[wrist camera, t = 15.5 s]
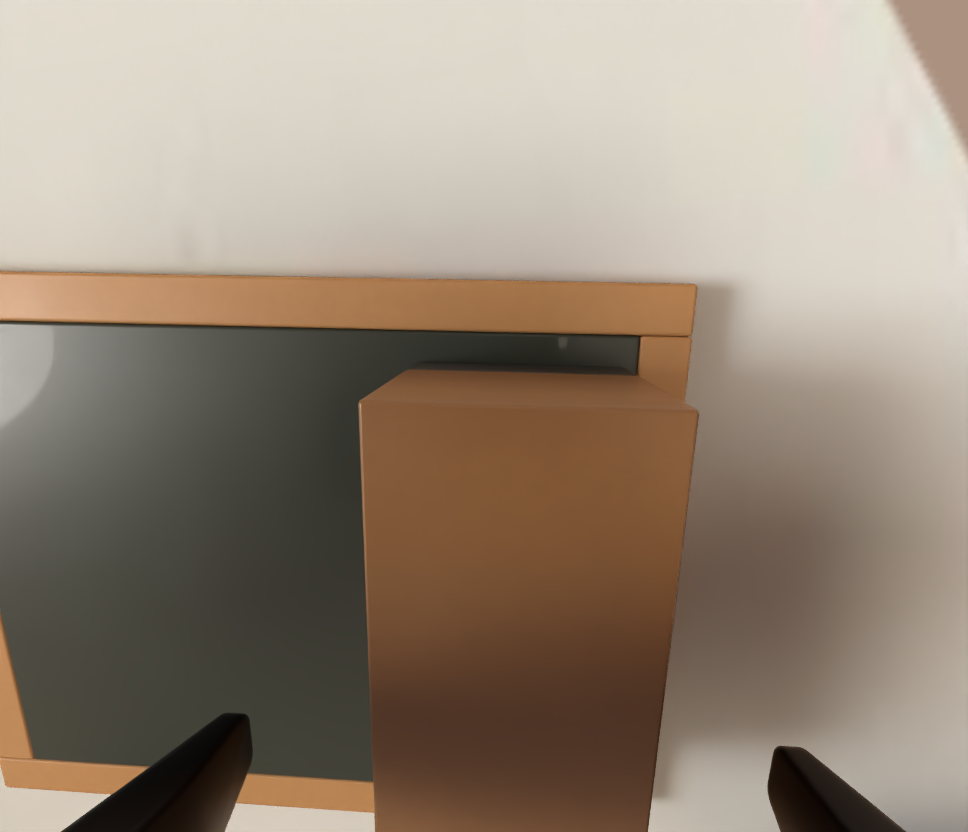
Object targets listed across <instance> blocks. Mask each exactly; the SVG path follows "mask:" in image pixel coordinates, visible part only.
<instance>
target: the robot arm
mask: <svg viewBox="0 0 968 832" xmlns="http://www.w3.org/2000/svg"><path fill="white" fill-rule="evenodd" d="M252 757H253V746H252V737H251V728H250V720H249V717H248V715H247V714H244V713H228V712H227V713H223V714H221V715H220V716H218V717H217V718H215V719H214V720H213V721H211V722H210V723H209V724H207V725H206V726H204V727H203V728H202V729H200V730H199V731H198V732H196V733H195V734H194V735H192V736H191V737H189V738H188V739H187V740H185V741H184V742H183V743H181V744H180V745H179V746H177V747H176V748H174V749H173V750H172V751H170V752H169V753H168V754H166V755H165V756H164V757H162V758H161V759H159V760H158V761H157V762H155V763H154V764H153V765H151V766H150V767H149V768H147V769H146V770H144V771H143V772H142V773H140V774H139V775H138V776H136V777H135V778H134V779H132V780H131V781H130V782H128V783H127V784H125V785H124V786H123V787H121V788H120V789H119V790H117V791H116V792H115V793H113V794H112V795H110V796H109V797H108V798H106V799H105V800H104V801H102V802H101V803H100V804H98V805H97V806H95V807H94V808H93V809H91V810H90V811H89V812H87V813H86V814H85V815H83V816H82V817H80V818H79V819H78V820H76V821H75V822H74V823H72V824H71V825H70V826H68V827H67V828H65V829H64V830H63V831H61V832H225V829H226V827H227V824H228V822H229V819H230V817H231V814H232V812H233V809H234V807H235V804H236V801H237V799H238V796H239V794H240V791H241V789H242V786H243V784H244V781H245V779H246V776H247V774H248V771H249V769H250V766H251V762H252ZM768 796H769V800H770V803H771V806H772V809H773V811H774V814H775V817H776V820H777V823H778V825H779V828H780V831H781V832H906V831H905V830H903V829H902V828H901V827H900V826H899V825H897V824H896V823H895V822H894V821H892V820H891V819H890V818H889V817H888V816H886V815H885V814H884V813H883V812H881V811H880V810H879V809H878V808H877V807H875V806H874V805H873V804H872V803H870V802H869V801H868V800H867V799H866V798H864V797H863V796H862V795H861V794H859V793H858V792H857V791H856V790H855V789H853V788H852V787H851V786H850V785H848V784H847V783H846V782H845V781H844V780H842V779H841V778H840V777H839V776H837V775H836V774H835V773H834V772H833V771H831V770H830V769H829V768H828V767H826V766H825V765H824V764H823V763H822V762H820V761H819V760H818V759H817V758H815V757H814V756H813V755H812V754H811V753H809V752H808V751H807V750H805V749H803V748H801V747H792V746H777V747H776V748H775V750H774V753H773V758H772V763H771V768H770V773H769V779H768Z"/></svg>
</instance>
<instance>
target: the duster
mask: <svg viewBox="0 0 968 832" xmlns="http://www.w3.org/2000/svg"><path fill="white" fill-rule="evenodd" d="M358 408H359V433H360V459H361V484H362V509H363V535H364V560H365V585H366V611H367V636H368V661H369V687H370V712H371V737H372V763H373V788H374V813H375V832H648V825H649V817H650V809H651V801H652V793H653V785H654V776H655V768H656V760H657V752H658V744H659V736H660V727H661V719H662V711H663V703H664V695H665V687H666V678H667V670H668V662H669V654H670V646H671V638H672V630H673V621H674V613H675V605H676V597H677V589H678V581H679V572H680V564H681V556H682V548H683V540H684V532H685V524H686V515H687V507H688V499H689V491H690V483H691V475H692V466H693V458H694V450H695V442H696V434H697V426H698V417H699V413H698V411H697V410H695V409H694V408H692V407H690V406H689V405H687V404H685V403H684V402H682V401H680V400H678V399H677V398H675V397H673V396H672V395H670V394H668V393H667V392H665V391H663V390H661V389H660V388H658V387H656V386H655V385H653V384H651V383H650V382H648V381H646V380H645V379H643V378H641V377H639V376H637V375H635V374H634V373H632V372H630V371H629V370H627V369H625V368H623V367H595V366H557V365H519V364H481V363H443V362H418V363H416V364H415V365H413V366H412V367H410V368H409V369H407V370H405V371H404V372H402V373H401V374H399V375H398V376H396V377H395V378H393V379H392V380H390V381H389V382H387V383H386V384H384V385H383V386H381V387H380V388H378V389H377V390H375V391H374V392H372V393H370V394H369V395H367V396H366V397H364V398H363V399H361V400H360V401H359V404H358Z"/></svg>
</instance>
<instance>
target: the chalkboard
mask: <svg viewBox="0 0 968 832" xmlns="http://www.w3.org/2000/svg"><path fill="white" fill-rule="evenodd" d="M696 297H697V285H695V284H671V283H616V282H562V281H507V280H452V279H397V278H343V277H288V276H233V275H178V274H124V273H69V272H14V271H0V765H1V769H2V773H3V777H4V781H5V785H6V786H7V787H14V788H29V789H43V790H57V791H72V792H86V793H100V794H113V793H115V792H116V791H117V790H119V789H120V788H121V787H123V786H124V785H125V784H127V783H128V782H130V781H131V780H132V779H134V778H135V777H136V776H138V775H139V774H140V773H142V772H143V771H144V770H146V769H147V768H149V767H150V766H151V765H153V764H154V763H155V762H157V761H158V760H159V759H161V758H162V757H164V756H165V755H166V754H168V753H169V752H170V751H172V750H173V749H174V748H176V747H177V746H179V745H180V744H181V743H183V742H184V741H185V740H187V739H188V738H189V737H191V736H192V735H194V734H195V733H196V732H198V731H199V730H200V729H202V728H203V727H204V726H206V725H207V724H209V723H210V722H211V721H213V720H214V719H215V718H217V717H218V716H220V715H221V714H223V713H227V712H228V713H244V714H247V715H248V717H249V720H250V728H251V737H252V746H253V757H252V762H251V766H250V769H249V771H248V774H247V776H246V779H245V781H244V784H243V786H242V789H241V791H240V794H239V796H238V799H237V801H236V803H243V804H257V805H271V806H286V807H300V808H314V809H328V810H343V811H357V812H371V813H374V788H373V763H372V737H371V712H370V687H369V661H368V636H367V611H366V585H365V560H364V535H363V509H362V484H361V459H360V433H359V408H358V404H359V401H360V400H361V399H363V398H364V397H366V396H367V395H369V394H370V393H372V392H374V391H375V390H377V389H378V388H380V387H381V386H383V385H384V384H386V383H387V382H389V381H390V380H392V379H393V378H395V377H396V376H398V375H399V374H401V373H402V372H404V371H405V370H407V369H409V368H410V367H412V366H413V365H415V364H416V363H418V362H443V363H481V364H519V365H557V366H595V367H623V368H625V369H627V370H629V371H630V372H632V373H634V374H635V375H637V376H639V377H641V378H643V379H645V380H646V381H648V382H650V383H651V384H653V385H655V386H656V387H658V388H660V389H661V390H663V391H665V392H667V393H668V394H670V395H672V396H673V397H675V398H677V399H678V400H680V401H682V402H684V403H685V394H686V386H687V377H688V368H689V360H690V351H691V342H692V340H691V338H690V337H688V336H691V334H692V331H693V323H694V314H695V305H696Z"/></svg>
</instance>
